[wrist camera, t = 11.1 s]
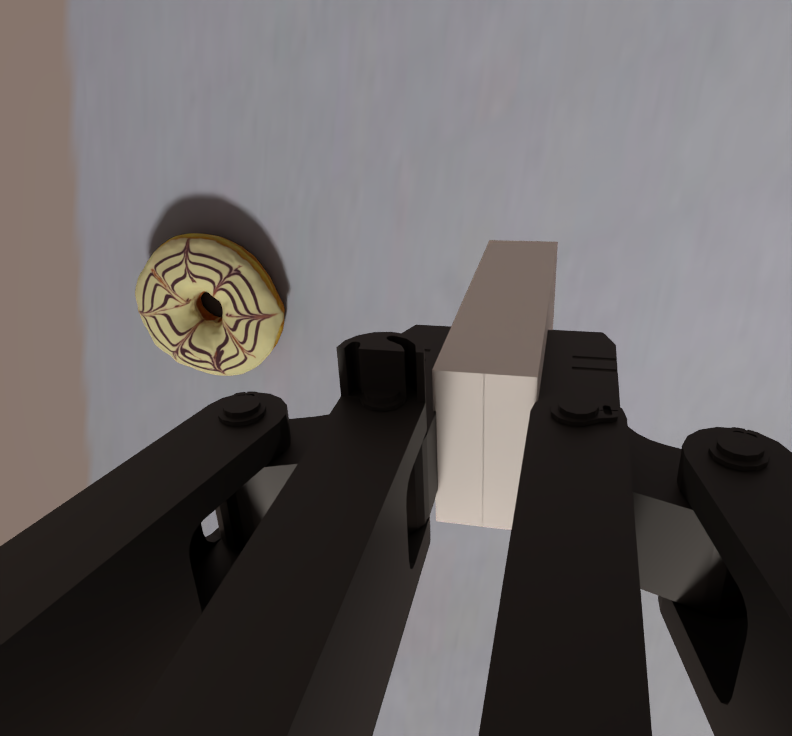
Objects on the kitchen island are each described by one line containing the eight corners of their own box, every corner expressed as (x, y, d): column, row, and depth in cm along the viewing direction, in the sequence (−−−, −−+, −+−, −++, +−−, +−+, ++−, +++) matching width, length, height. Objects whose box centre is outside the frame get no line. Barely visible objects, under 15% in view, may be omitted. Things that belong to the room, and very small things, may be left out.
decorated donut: (242, 386, 56) (220, 410, 52) (135, 296, 54) (106, 314, 51) (316, 299, 50) (298, 319, 47) (200, 197, 49) (172, 211, 46)
